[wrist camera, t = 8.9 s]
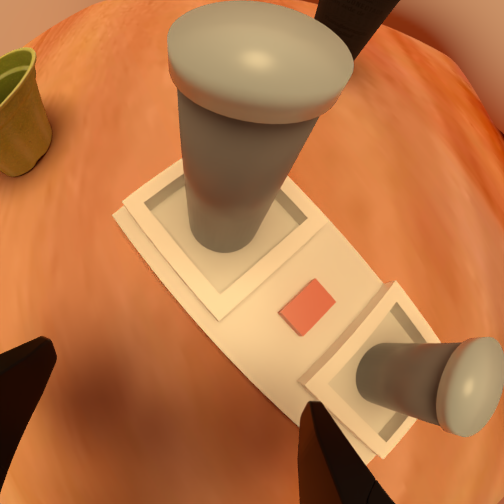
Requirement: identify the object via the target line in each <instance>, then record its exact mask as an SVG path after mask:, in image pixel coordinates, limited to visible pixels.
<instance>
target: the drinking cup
mask: <svg viewBox="0 0 504 504" xmlns="http://www.w3.org/2000/svg"><path fill="white" fill-rule="evenodd" d="M399 1H400V0H319V3H318V7H317V11H316V14H315V18H314V19H315V20H317V21H319V22H320V23H322V24H323V25H325V26H326V27H328V28H329V29H330V30H332V31H333V32H334V33H335V34H336V35H337V36H339V37H340V39H341V40H342V41H343V42H344V43H345V44H346V46H347V47H348V49H349V51H350V53H351V55H352V58H353V61H354V60H355V58H356V57H357V56H358V54H359V53H360V52H361V50H362V49H363V48H364V46H365V45H366V44H367V42H368V41H369V40H370V38H371V37H372V36H373V34H374V33H375V32H376V30H377V29H378V28H379V27H380V25H381V24H382V23H383V21H384V20H385V19H386V17H387V16H388V15H389V14H390V12H391V11H392V10H393V8H394V7H395V6H396V4H397V3H398V2H399Z"/></svg>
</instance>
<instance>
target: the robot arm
mask: <svg viewBox="0 0 504 504" xmlns="http://www.w3.org/2000/svg"><path fill="white" fill-rule="evenodd" d="M56 360H57V355H56V352H55V349H54V346H53V343H52V341H51V340H50V339H49V338H46V337H44V336H40V337H38V338H36V339H33V340H31V341H29V342H27V343H24V344H22V345H20V346H18V347H15V348H13V349H11V350H9V351H6V352H4V353H2V354H0V492H1V489H2V486H3V483H4V480H5V477H6V475H7V472H8V469H9V466H10V464H11V461H12V459H13V456H14V454H15V451H16V449H17V447H18V444H19V442H20V440H21V437H22V435H23V433H24V431H25V429H26V426H27V424H28V422H29V420H30V418H31V416H32V414H33V412H34V410H35V408H36V406H37V404H38V402H39V400H40V398H41V396H42V394H43V392H44V389H45V387H46V384H47V382H48V380H49V377H50V375H51V372H52V370H53V368H54V365H55V363H56ZM298 478H299V496H300V504H395V503H394V502H393V500H392V499H391V498H390V497H389V496H388V494H387V493H386V492H385V491H384V489H383V488H382V487H381V485H380V484H379V483H378V481H377V480H375V477H374V476H373V475H372V473H371V472H370V470H369V469H368V468H367V466H366V465H365V463H364V462H363V461H362V459H361V458H360V456H359V455H358V454H357V452H356V451H355V449H354V448H353V446H352V445H351V444H350V442H349V441H348V439H347V438H346V436H345V435H344V434H343V432H342V431H341V429H340V428H339V426H338V425H337V424H336V422H335V421H334V419H333V418H332V416H331V415H330V413H329V412H328V411H327V409H326V408H325V406H324V405H323V403H322V402H320V401H308V402H307V404H306V406H305V408H304V410H303V412H302V414H301V417H300V428H299V444H298Z"/></svg>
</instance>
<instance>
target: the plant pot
mask: <svg viewBox="0 0 504 504" xmlns="http://www.w3.org/2000/svg"><path fill="white" fill-rule="evenodd" d="M35 63H36V53H35V51H34V50H33V49H32V48H27V47H25V48H19V49H16V50H13V51H11V52H9V53H6V54H5V55H3V56H1V57H0V171H1V172H3V173H4V174H6V175H8V176H11V177H15V176H19V175H22V174H24V173H26V172H28V171H29V170H30V169H32V168H33V167H34V166H35V163H36V162H37V160H38V159H39V158H40V157H41V156H42V155H44V154H45V153H46V151H47V149H48V147H49V145H50V142H51V139H52V129H51V126H50V123H49V120H48V118H47V115H46V112H45V109H44V106H43V103H42V100H41V97H40V93H39V90H38V86H37V83H36V79H35V78H36V70H35Z"/></svg>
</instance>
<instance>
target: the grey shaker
mask: <svg viewBox="0 0 504 504" xmlns="http://www.w3.org/2000/svg"><path fill="white" fill-rule="evenodd" d="M167 43H168V63H169V73H170V76H171V79H172V81H173V83H174V84H175V86H176V87H177V92H178V109H179V124H180V138H181V150H182V161H183V171H184V181H185V191H186V199H187V208H188V216H189V224H190V229H191V231H192V234H193V236H194V237H195V239H196V240H197V241H198V242H199V243H200V244H201V245H202V246H204V247H205V248H207V249H209V250H212V251H215V252H220V253H229V252H234V251H237V250H240V249H242V248H243V247H245V246H246V245H248V244H249V243H250V242H251V241H252V239H253V238H254V236H255V234H256V233H257V231H258V229H259V227H260V225H261V223H262V221H263V220H264V218H265V216H266V214H267V212H268V210H269V208H270V207H271V205H272V203H273V201H274V199H275V197H276V195H277V194H278V192H279V190H280V188H281V186H282V184H283V183H284V181H285V179H286V177H287V175H288V173H289V171H290V170H291V168H292V166H293V164H294V162H295V160H296V159H297V157H298V155H299V153H300V151H301V149H302V148H303V146H304V144H305V142H306V140H307V138H308V137H309V135H310V133H311V131H312V129H313V127H314V126H315V124H316V122H317V120H318V118H319V116H320V115H322V114H324V113H326V112H327V111H328V110H329V109H331V108H332V106H333V105H334V104H335V103H336V101H337V99H338V98H339V96H340V94H341V93H342V91H343V89H344V87H345V86H346V84H347V82H348V81H349V79H350V77H351V75H352V73H353V69H354V62H353V58H352V55H351V53H350V51H349V49H348V47H347V46H346V44H345V43H344V42H343V41H342V40H341V39H340V37H339V36H337V35H336V34H335V33H334V32H333V31H332V30H330V29H329V28H328V27H326V26H325V25H323V24H322V23H320V22H319V21H317V20H315V19H313V18H311V17H310V16H307V15H305V14H303V13H301V12H298V11H295V10H293V9H290V8H286V7H283V6H279V5H275V4H270V3H265V2H257V1H224V2H217V3H212V4H208V5H204V6H201V7H198V8H195V9H193V10H191V11H189V12H187V13H185V14H184V15H182V16H181V17H179V18H178V19H177V20H176V21H175V22H174V23H173V24H172V26H171V28H170V29H169V32H168V37H167Z"/></svg>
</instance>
